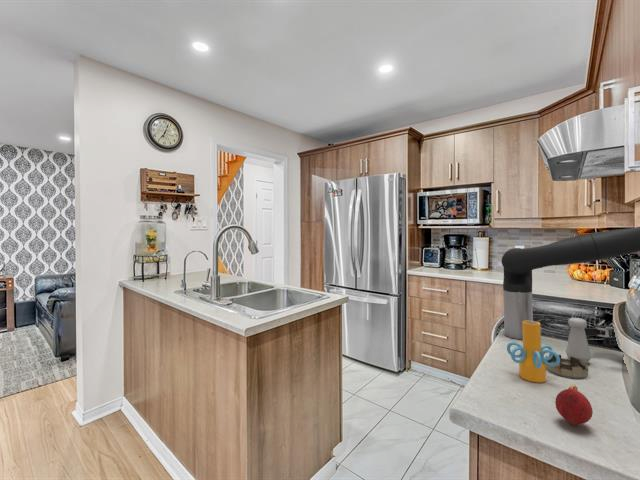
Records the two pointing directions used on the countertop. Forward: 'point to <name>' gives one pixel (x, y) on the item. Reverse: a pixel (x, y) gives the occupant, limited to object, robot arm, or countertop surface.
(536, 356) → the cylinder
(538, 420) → the countertop surface
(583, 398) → the red oval fruit
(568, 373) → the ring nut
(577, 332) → the salt shaker
